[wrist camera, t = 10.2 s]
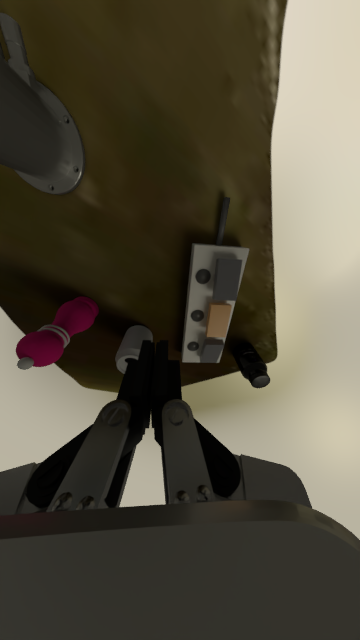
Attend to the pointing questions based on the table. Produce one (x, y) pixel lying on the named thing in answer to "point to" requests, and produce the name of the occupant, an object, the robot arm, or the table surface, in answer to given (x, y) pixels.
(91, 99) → the table surface
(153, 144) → the table surface
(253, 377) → the supplement bottle
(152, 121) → the table surface
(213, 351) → the block
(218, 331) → the rocker
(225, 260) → the block
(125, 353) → the can
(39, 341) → the pepper mill
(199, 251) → the power strip
